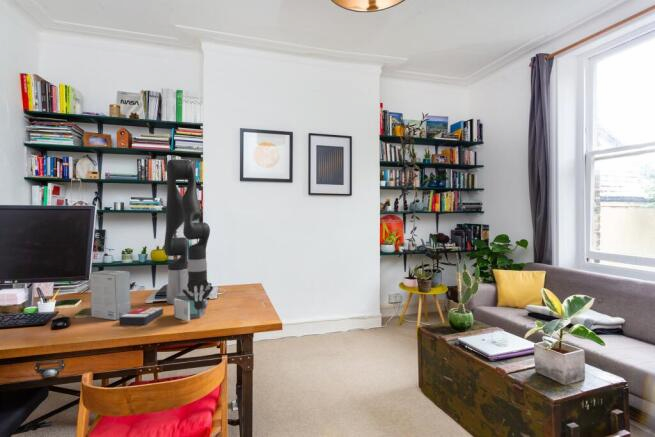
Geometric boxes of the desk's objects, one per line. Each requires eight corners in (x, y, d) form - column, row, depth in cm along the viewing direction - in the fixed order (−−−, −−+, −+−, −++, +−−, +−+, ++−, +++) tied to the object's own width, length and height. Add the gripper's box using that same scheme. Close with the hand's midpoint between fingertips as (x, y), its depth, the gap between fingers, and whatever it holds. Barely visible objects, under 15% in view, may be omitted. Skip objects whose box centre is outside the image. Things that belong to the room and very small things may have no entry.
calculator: (163, 306, 154) (144, 315, 139) (163, 316, 154) (144, 326, 139) (139, 306, 155) (118, 315, 140) (139, 316, 155) (118, 326, 140)
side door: (174, 317, 146) (173, 299, 145) (177, 317, 147) (177, 298, 147) (186, 321, 141) (186, 302, 140) (190, 320, 142) (189, 302, 142)
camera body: (173, 319, 147) (173, 294, 146) (181, 313, 155) (181, 290, 155) (203, 319, 147) (202, 294, 147) (209, 313, 155) (208, 289, 155)
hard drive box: (131, 315, 152) (130, 271, 152) (116, 320, 145) (114, 274, 144) (106, 311, 158) (105, 269, 157) (90, 317, 150) (89, 272, 150)
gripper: (182, 272, 137) (183, 314, 138) (215, 269, 144) (216, 309, 145) (179, 269, 144) (180, 309, 145) (211, 266, 151) (211, 304, 151)
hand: (198, 309), depth 145 cm, fingers closed
